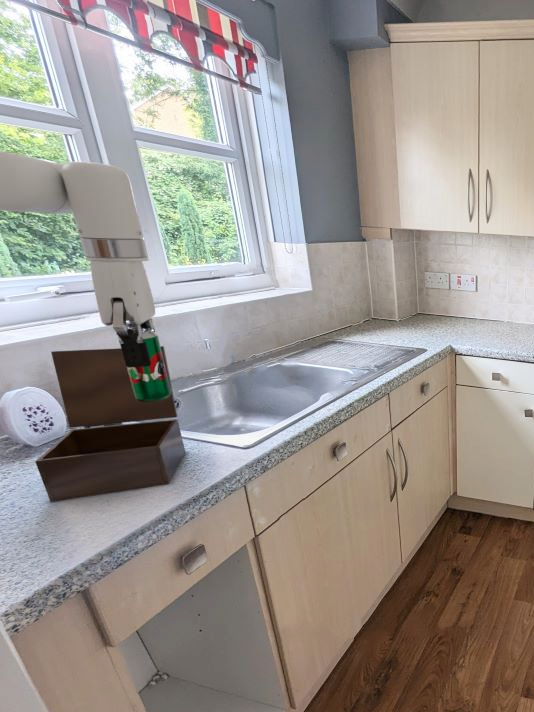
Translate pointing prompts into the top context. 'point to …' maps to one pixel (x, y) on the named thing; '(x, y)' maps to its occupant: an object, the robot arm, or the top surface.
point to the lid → (104, 389)
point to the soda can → (150, 372)
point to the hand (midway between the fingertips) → (144, 360)
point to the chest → (112, 459)
